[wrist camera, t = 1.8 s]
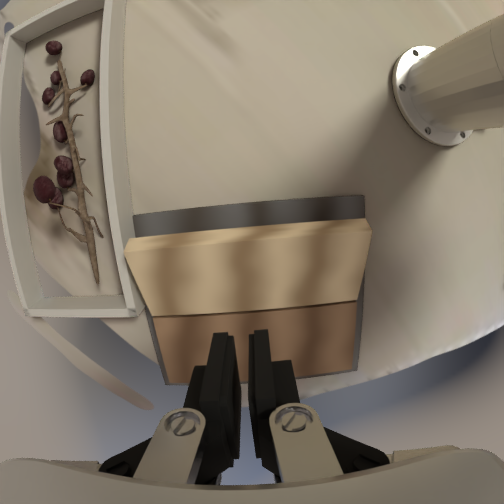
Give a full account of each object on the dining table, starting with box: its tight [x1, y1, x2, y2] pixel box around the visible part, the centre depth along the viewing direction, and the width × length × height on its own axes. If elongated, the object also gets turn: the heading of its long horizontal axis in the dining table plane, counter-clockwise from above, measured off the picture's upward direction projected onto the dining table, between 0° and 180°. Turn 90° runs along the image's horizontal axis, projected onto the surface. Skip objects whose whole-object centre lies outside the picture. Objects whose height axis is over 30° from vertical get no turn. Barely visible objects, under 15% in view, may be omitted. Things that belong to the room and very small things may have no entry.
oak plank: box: [124, 218, 372, 316], centre depth 29 cm, size 22×9×2 cm, turn 95°
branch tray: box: [0, 0, 147, 318], centre depth 27 cm, size 17×38×4 cm, turn 5°
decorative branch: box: [33, 41, 103, 284], centre depth 26 cm, size 11×9×30 cm
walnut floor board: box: [132, 195, 365, 385], centre depth 32 cm, size 25×22×2 cm
